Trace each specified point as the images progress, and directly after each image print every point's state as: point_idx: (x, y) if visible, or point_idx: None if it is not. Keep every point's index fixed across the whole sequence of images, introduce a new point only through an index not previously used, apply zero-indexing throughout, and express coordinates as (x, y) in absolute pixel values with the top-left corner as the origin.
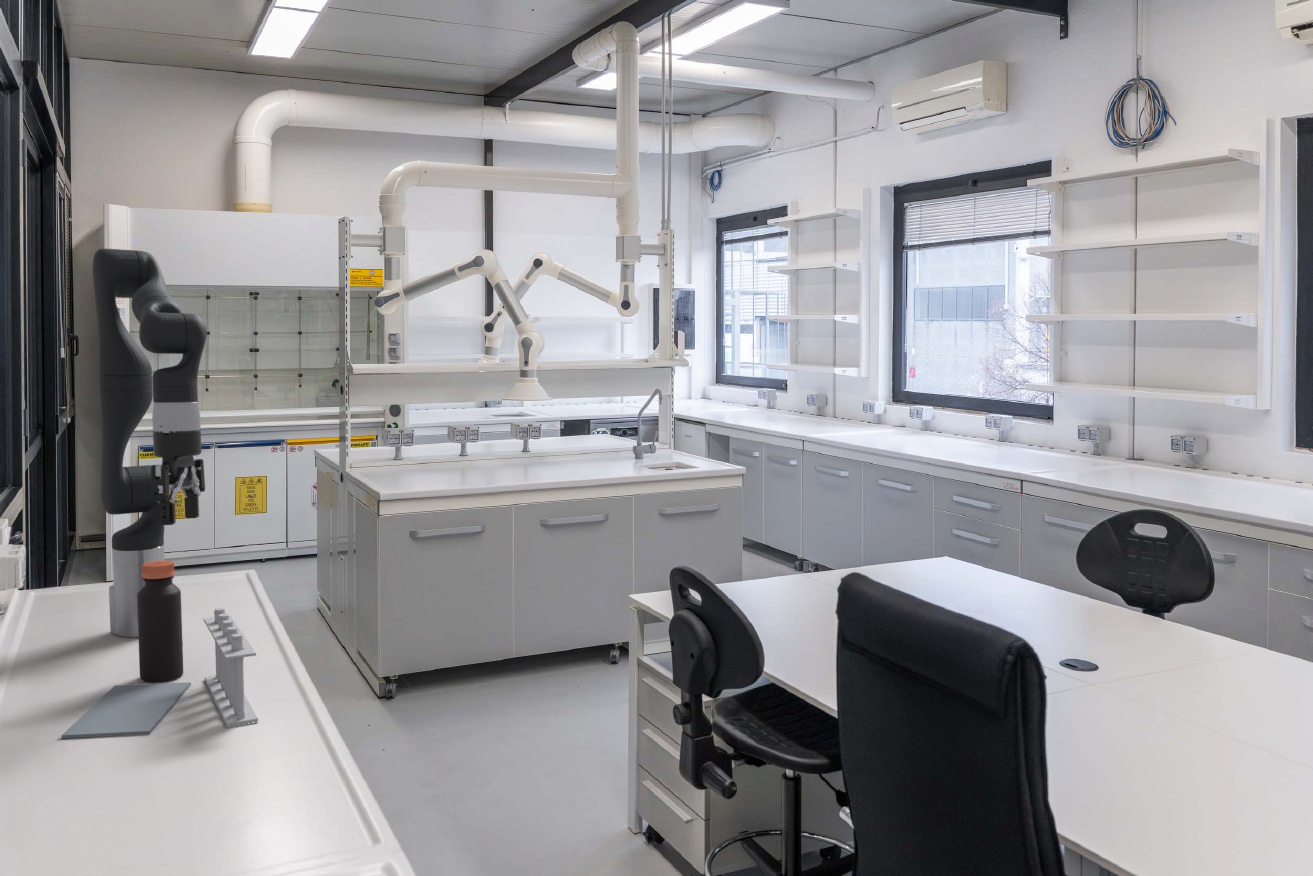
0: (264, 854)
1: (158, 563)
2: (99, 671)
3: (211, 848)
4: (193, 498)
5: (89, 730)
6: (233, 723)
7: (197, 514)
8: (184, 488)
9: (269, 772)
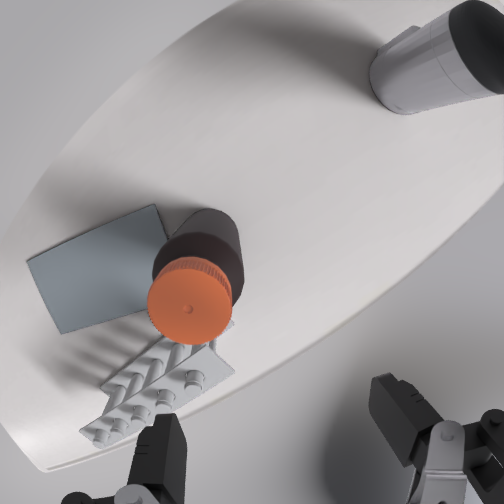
0: (16, 438)
1: (191, 308)
2: (218, 129)
3: (6, 420)
4: (405, 457)
5: (41, 279)
6: (103, 391)
7: (374, 419)
8: (419, 484)
9: (63, 429)
